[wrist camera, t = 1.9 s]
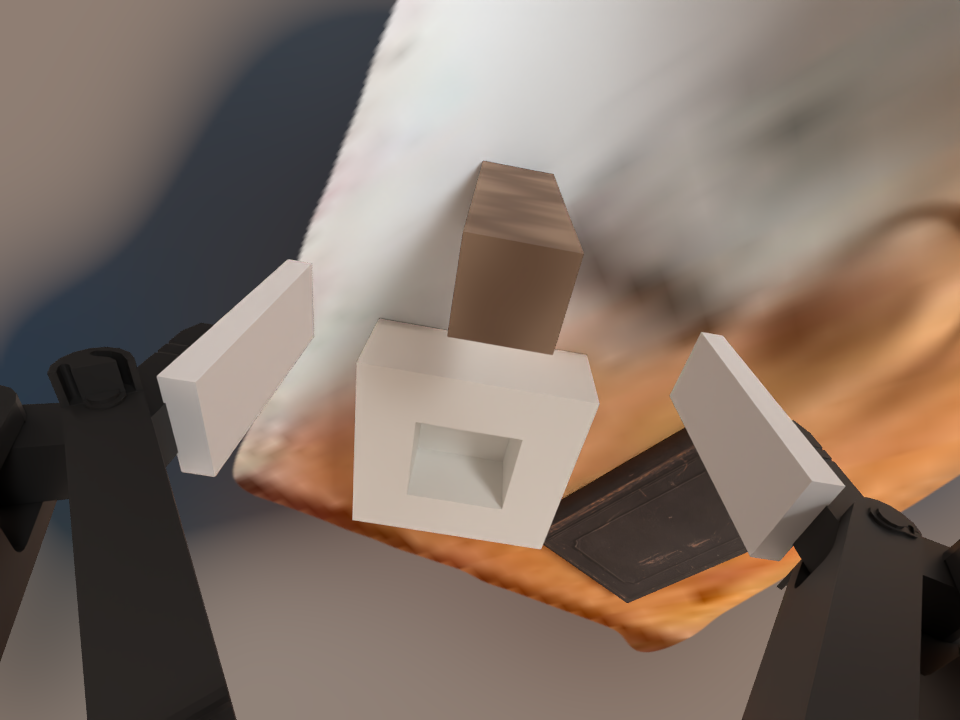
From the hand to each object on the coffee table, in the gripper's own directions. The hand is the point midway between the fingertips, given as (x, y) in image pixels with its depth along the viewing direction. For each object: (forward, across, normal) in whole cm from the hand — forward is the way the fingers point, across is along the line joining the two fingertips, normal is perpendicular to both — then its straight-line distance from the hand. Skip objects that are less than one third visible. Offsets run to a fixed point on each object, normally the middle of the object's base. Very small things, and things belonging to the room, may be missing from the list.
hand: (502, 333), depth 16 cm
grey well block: (+17, 0, -18) cm, 24 cm away
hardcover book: (+17, +21, -25) cm, 37 cm away
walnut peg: (+16, 0, 0) cm, 16 cm away
